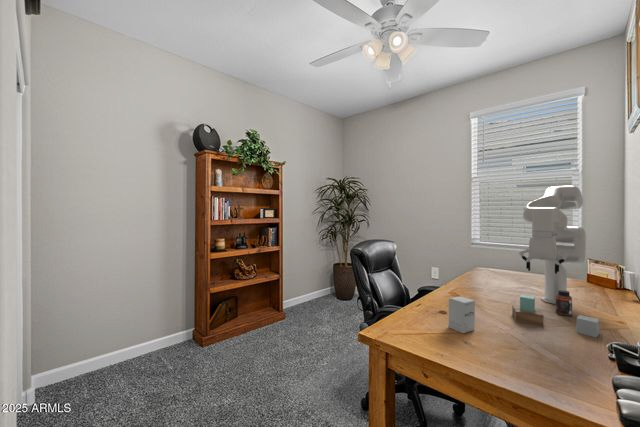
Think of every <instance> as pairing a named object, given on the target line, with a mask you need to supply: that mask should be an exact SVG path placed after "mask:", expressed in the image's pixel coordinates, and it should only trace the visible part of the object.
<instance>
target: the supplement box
mask: <svg viewBox="0 0 640 427" xmlns="http://www.w3.org/2000/svg"><path fill="white" fill-rule="evenodd" d="M475 306H476V300H473V299H470V298H467V297H464V296H455V297H450V298H448V328H449V329H452V330H453V331H457V332H459V333H461V334H465V333H469V332H472V331H475V328H476V327H475V326H476V324H475V321H476V320H475V319H476V318H475V317H476V315H475V314H476V313H475V312H476V311H475V310H476V308H475Z"/></svg>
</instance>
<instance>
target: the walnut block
mask: <svg viewBox="0 0 640 427" xmlns="http://www.w3.org/2000/svg"><path fill="white" fill-rule="evenodd" d="M511 311H512V312H511V315H512V317H513V319H514V320H515V322H516V323H522V324H528V325H536V326H542V327H543V326H544V325H545V324H544V323H545V322H544V321H545V320H544V317H545V315H544V314H543V312H541V310H540V309H539V308H538V307H535V310H534V312H528V311H523V310H520V305H515V304H512V307H511Z"/></svg>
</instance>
